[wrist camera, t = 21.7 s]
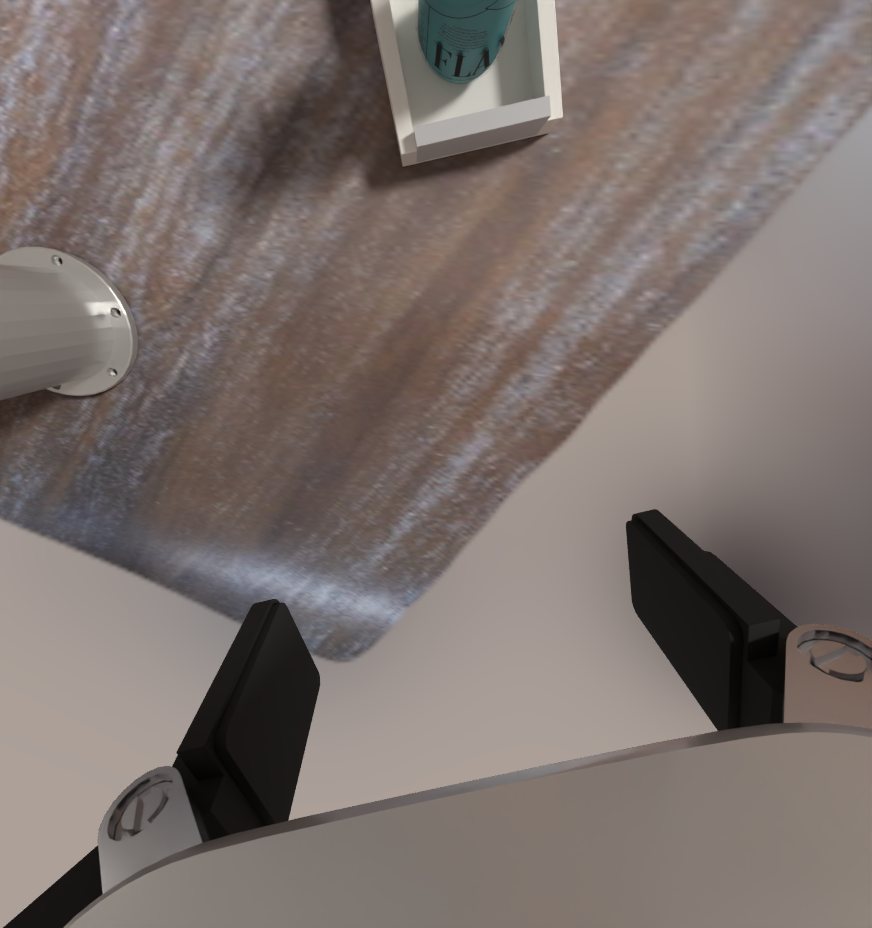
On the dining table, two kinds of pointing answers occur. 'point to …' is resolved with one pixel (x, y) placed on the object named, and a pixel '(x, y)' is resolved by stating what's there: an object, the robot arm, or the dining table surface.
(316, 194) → the dining table surface
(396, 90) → the white divided tray
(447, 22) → the beverage bottle
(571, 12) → the dining table surface
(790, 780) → the robot arm
